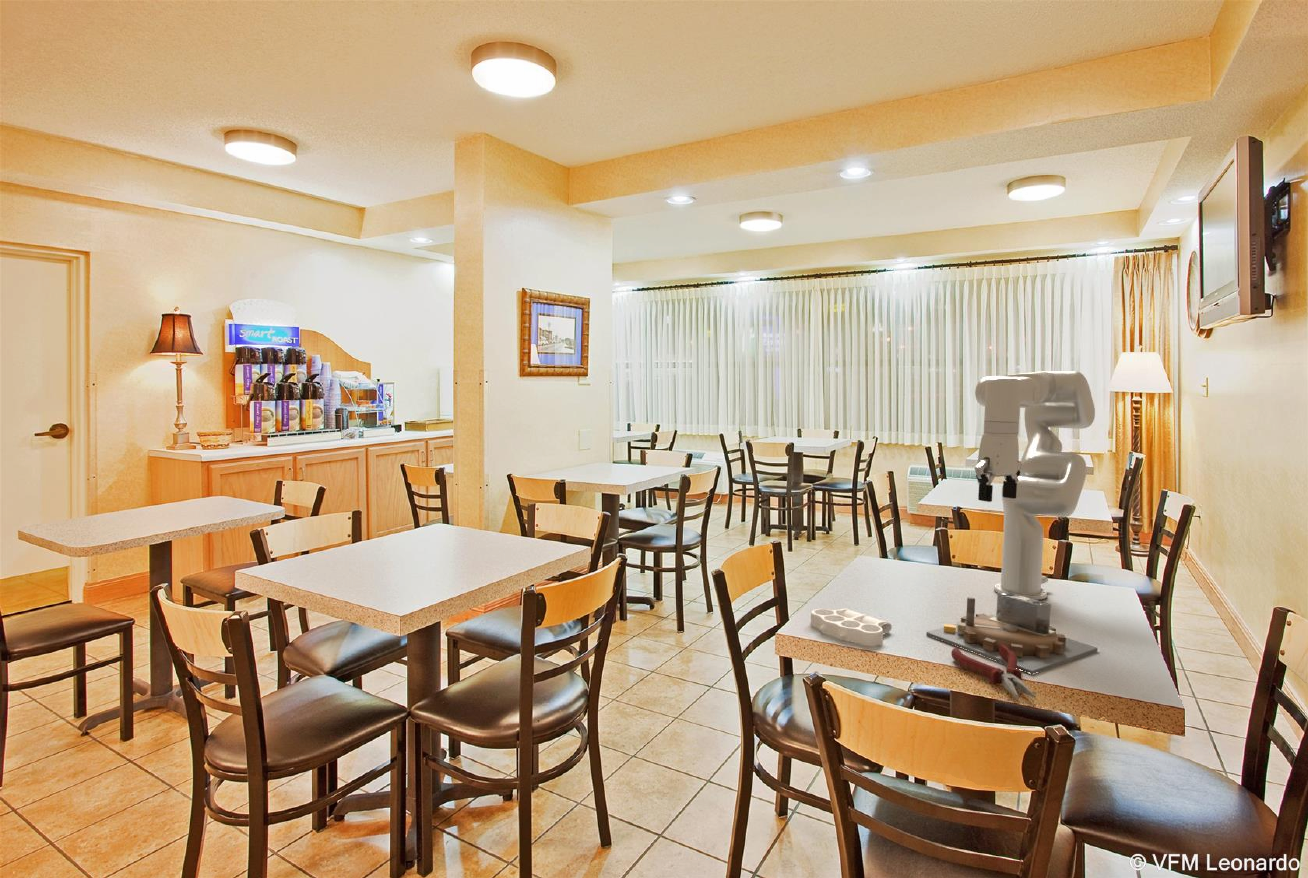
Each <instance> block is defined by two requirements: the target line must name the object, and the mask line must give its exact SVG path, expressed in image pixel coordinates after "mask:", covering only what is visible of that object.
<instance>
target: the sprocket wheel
mask: <svg viewBox="0 0 1308 878" xmlns="http://www.w3.org/2000/svg"><path fill="white" fill-rule="evenodd" d="M966 598H967V599H966V612H965V613H966V615H965V616H964V615H963V616H962V617H961V618H960V622H957V624H958V627H957V632H958V634H963V635H964V640H965V641H967V642H968V643H977V644H979V645H982V646H983V649H985V650H989V651H992V652H993V651H995V650H998V651H999V646H1000V645H1004V646H1006V647H1007V648H1008V649H1010V650H1011V651H1012V652H1013V653H1014V654H1015V655H1016V656H1018V657H1023V655H1036V656H1038V657H1039V658H1047V657H1049V653H1052V652H1053V653H1056V654H1060V655H1061V654H1062V653H1064V647H1065V646H1066V638H1067V637H1066V635H1065V634H1060V633H1057V629H1056V628H1055V627H1053V626H1050V627H1049V633H1048V634H1040V633H1036V632H1033V631H1029V630H1026V629H1023V628H1020V627H1017V626H1014V625H1010V624H1007V623H1004V622H1001V621H998V620H997V619H996V615H995V616H988V615H987V614H986V613H976V614H975V611H976V610H975V609H976V607H975V606H976V598H975V597H972V596H969V597H966Z"/></svg>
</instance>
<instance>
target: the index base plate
mask: <svg viewBox="0 0 1308 878" xmlns="http://www.w3.org/2000/svg"><path fill="white" fill-rule="evenodd" d="M987 616H996V614H995V615H994V614H991V613H990V614H988V615H987ZM957 627H958V623H956V624H950V623H949V624H948V623H944V624H943V627H940V628H936V629H932V630H929V631H926V635H928V636H927V637H929V636H930V638H932V637H934V638H937V639H939V640H938V641H940V640H943V641H945V642H947V643H946V644H948V643H949V644H948V645H950V644H953V645H956V646H958V647H962V648H964V649H967V650H969V651H973V652H975V653H977V654H981V655H983V656H985V657H988V658H991V659H993V660H996V661H997V662H996V661H995V662H996V663H998V662H1001V663H1003V664H1002V665H1004V664H1006V665H1008V662H1007V661H1006V660H1004V659H1003V658H1002V657H1001V656H1000V654H999V651H998V650H995V651H993V652H992V651H989V650H985V649H983V646H982V645H979V644H977V643H968V642H967V641H965V640H964V635H963V634H958V632H957ZM926 635H925V636H926ZM934 638H933V639H934ZM937 639H936V640H937ZM945 642H944V643H945ZM953 645H952V646H953ZM956 646H955V647H956ZM958 647H957V648H958ZM964 649H963V650H964ZM969 651H968V652H969ZM1097 652H1098V647H1097V646H1093V645H1091V644H1090V645H1089V644H1086V643H1084V642H1080V641H1077V640H1074V639H1072V638H1071V639H1070V638H1068V637H1066V646H1065V647H1064V653H1062V654H1061V655H1060V654H1056V653H1053V652H1052V653H1049V657H1047V658H1039V657H1038V656H1036V655H1023V657H1018V656H1016V658H1017V667H1016V668H1017V669H1021V670H1023V671H1026V672H1030V673H1031V674H1033V673H1036V672H1039V673H1041V672H1040V671H1042V672H1044V671H1043V670H1045V671H1047V670H1049V669H1053V668H1055V667H1058V666H1061V665H1064V664H1066V663H1070V662H1072V661H1074V660H1078V659H1081V658H1083V657H1086V656H1089V655H1091V654H1092V655H1093V654H1094V653H1097ZM977 654H976V655H977ZM985 657H984V658H985ZM988 658H987V659H988ZM993 660H992V661H993ZM1001 663H1000V664H1001ZM1006 665H1005V666H1006ZM1046 669H1047V670H1046ZM1036 674H1037V673H1036Z"/></svg>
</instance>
